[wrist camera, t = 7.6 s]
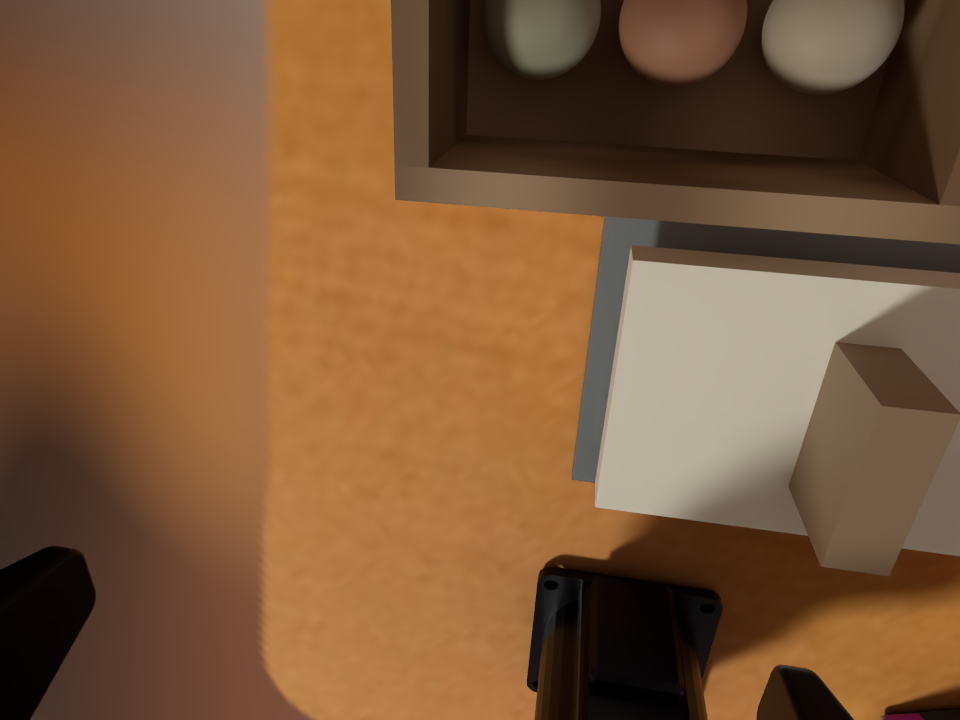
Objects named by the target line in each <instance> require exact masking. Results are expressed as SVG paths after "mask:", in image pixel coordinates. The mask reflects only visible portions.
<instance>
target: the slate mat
mask: <svg viewBox="0 0 960 720" xmlns="http://www.w3.org/2000/svg"><path fill="white" fill-rule="evenodd" d="M631 245H636V246H648V247H659V248H671V249H683V250H694V251H706V252H718V253H729V254H741V255H753V256H764V257H776V258H788V259H799V260H811V261H823V262H835V263H846V264H858V265H870V266H881V267H893V268H905V269H916V270H928V271H940V272H951V273H960V244H948V243H935V242H923V241H910V240H897V239H885V238H872V237H860V236H847V235H834V234H822V233H809V232H796V231H784V230H771V229H759V228H746V227H733V226H721V225H708V224H696V223H683V222H670V221H658V220H645V219H632V218H620V217H607V216H605V218H604V226H603V233H602V241H601V249H600V257H599V265H598V273H597V281H596V288H595V296H594V304H593V312H592V320H591V328H590V335H589V343H588V351H587V359H586V367H585V375H584V382H583V390H582V398H581V406H580V414H579V422H578V430H577V437H576V445H575V453H574V461H573V469H572V480H578V481H586V482H593V483H595V480H596V473H597V467H598V460H599V453H600V447H601V440H602V433H603V427H604V420H605V414H606V407H607V400H608V394H609V387H610V380H611V374H612V367H613V361H614V354H615V347H616V341H617V334H618V327H619V321H620V314H621V308H622V301H623V294H624V288H625V281H626V274H627V268H628V261H629V255H630V248H631Z"/></svg>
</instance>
